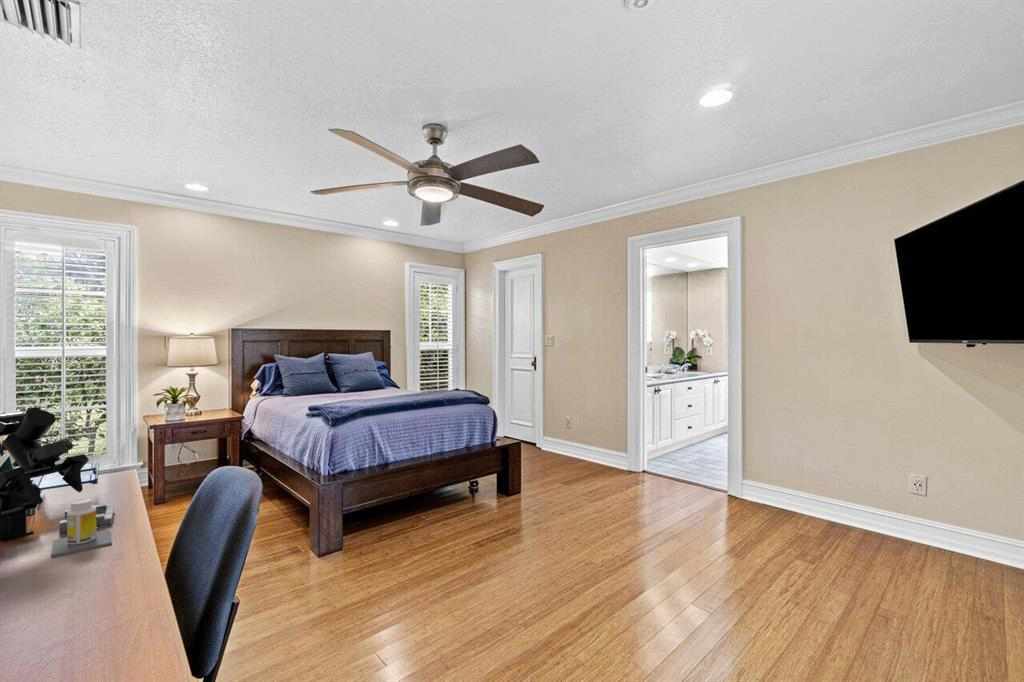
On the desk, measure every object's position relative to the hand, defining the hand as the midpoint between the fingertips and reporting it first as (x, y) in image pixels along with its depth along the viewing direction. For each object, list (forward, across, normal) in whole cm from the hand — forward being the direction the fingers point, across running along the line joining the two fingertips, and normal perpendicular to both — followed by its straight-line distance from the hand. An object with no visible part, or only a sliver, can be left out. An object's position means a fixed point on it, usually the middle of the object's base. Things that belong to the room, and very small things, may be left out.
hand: (61, 496), depth 123 cm
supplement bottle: (+12, 0, +3) cm, 13 cm away
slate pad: (+13, 0, +4) cm, 13 cm away
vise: (+5, +10, +12) cm, 16 cm away
